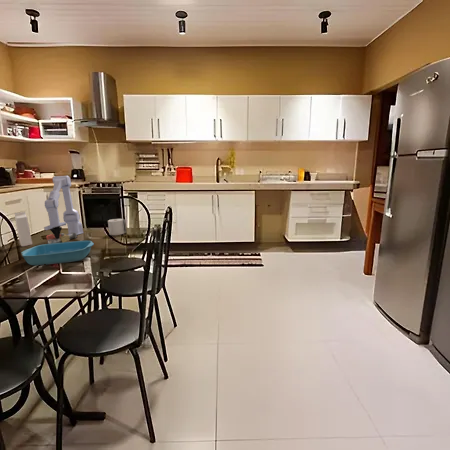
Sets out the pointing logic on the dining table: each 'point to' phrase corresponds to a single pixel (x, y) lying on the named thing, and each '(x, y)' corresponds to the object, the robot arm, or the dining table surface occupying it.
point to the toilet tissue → (117, 226)
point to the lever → (53, 236)
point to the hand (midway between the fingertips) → (57, 238)
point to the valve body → (63, 238)
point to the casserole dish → (57, 252)
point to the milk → (23, 229)
